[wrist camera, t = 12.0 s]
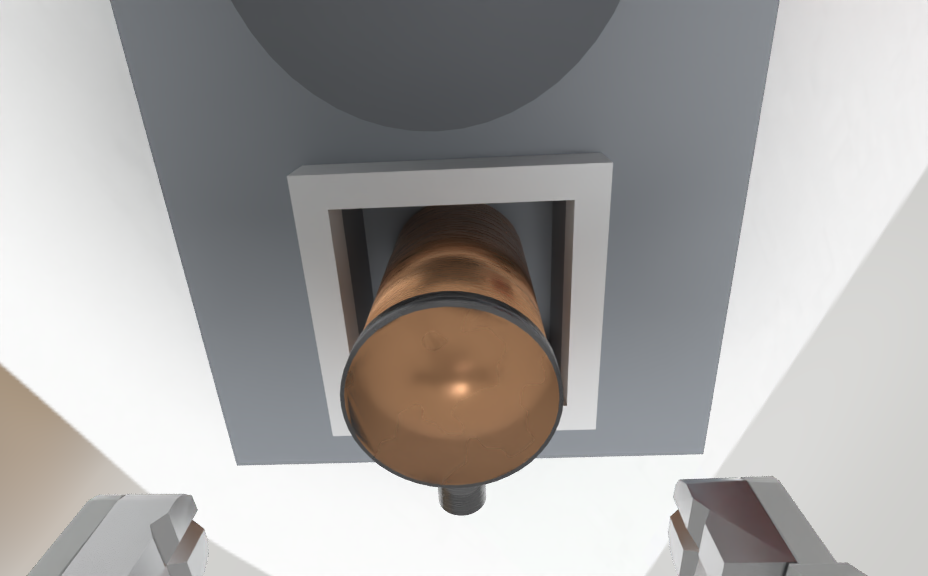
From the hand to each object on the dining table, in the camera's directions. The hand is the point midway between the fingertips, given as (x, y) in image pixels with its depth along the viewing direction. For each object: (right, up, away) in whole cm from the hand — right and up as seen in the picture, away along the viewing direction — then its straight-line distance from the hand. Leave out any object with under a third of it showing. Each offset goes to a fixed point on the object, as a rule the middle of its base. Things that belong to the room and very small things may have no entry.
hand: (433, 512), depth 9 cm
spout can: (0, +4, +12) cm, 13 cm away
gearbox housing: (0, +10, +13) cm, 16 cm away
